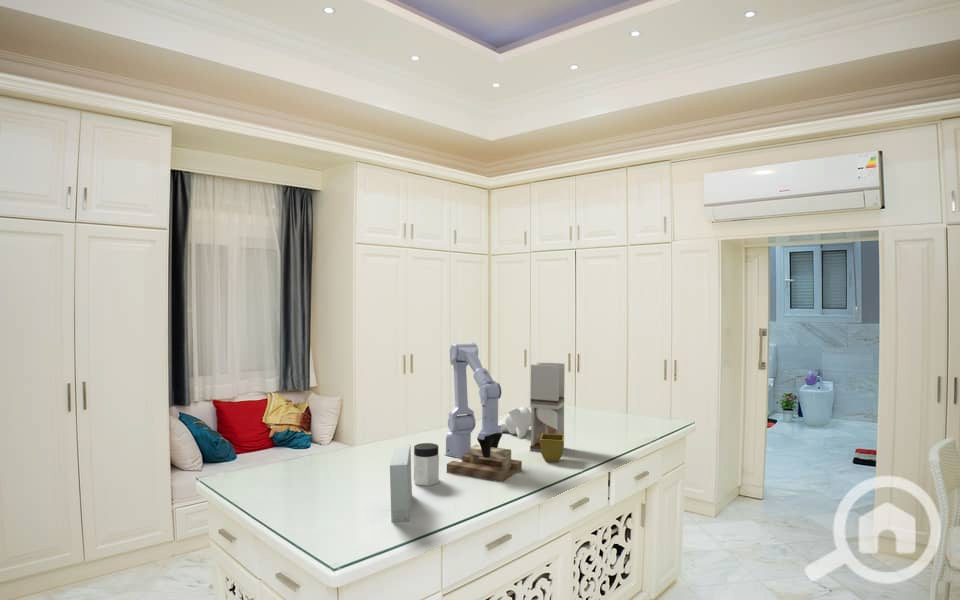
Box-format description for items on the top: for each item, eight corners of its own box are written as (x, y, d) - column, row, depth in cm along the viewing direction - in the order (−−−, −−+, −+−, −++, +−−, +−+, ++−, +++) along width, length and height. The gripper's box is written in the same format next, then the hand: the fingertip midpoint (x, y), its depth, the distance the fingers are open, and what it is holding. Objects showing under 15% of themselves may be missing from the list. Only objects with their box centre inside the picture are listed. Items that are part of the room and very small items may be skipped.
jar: (408, 484, 183) (408, 447, 183) (418, 476, 190) (418, 441, 190) (433, 487, 180) (434, 450, 180) (442, 479, 188) (443, 444, 188)
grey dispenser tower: (530, 451, 224) (530, 364, 224) (537, 444, 234) (538, 362, 234) (557, 454, 220) (558, 366, 220) (563, 447, 230) (564, 363, 230)
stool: (511, 466, 196) (511, 449, 196) (505, 470, 191) (505, 453, 191) (475, 461, 202) (476, 444, 202) (469, 464, 198) (469, 447, 198)
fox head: (494, 412, 266) (487, 417, 247) (527, 400, 264) (522, 405, 244) (504, 438, 265) (498, 446, 245) (536, 427, 262) (533, 434, 243)
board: (446, 472, 195) (446, 463, 195) (467, 460, 210) (467, 452, 210) (503, 481, 186) (503, 473, 186) (521, 469, 200) (521, 460, 200)
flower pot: (563, 464, 206) (563, 440, 206) (539, 462, 208) (539, 438, 208) (564, 457, 215) (564, 434, 215) (541, 456, 217) (541, 433, 217)
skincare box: (394, 495, 172) (394, 444, 172) (412, 495, 173) (412, 444, 173) (389, 522, 151) (389, 464, 151) (409, 522, 152) (409, 463, 152)
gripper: (491, 422, 188) (491, 462, 188) (508, 414, 201) (508, 451, 201) (473, 420, 192) (472, 459, 192) (491, 412, 205) (490, 449, 205)
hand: (489, 455), depth 197 cm, fingers closed on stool, 5 cm apart
